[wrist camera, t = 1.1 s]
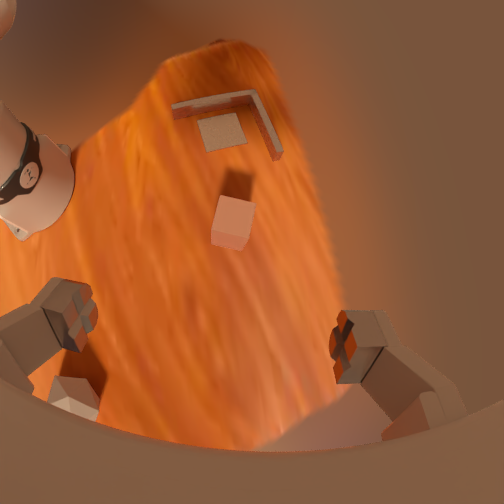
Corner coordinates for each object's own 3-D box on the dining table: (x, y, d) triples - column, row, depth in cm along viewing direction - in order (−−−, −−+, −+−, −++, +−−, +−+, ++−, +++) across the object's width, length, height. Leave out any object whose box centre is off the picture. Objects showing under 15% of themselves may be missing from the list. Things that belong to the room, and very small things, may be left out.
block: (211, 244, 39) (211, 229, 32) (218, 215, 40) (220, 194, 33) (241, 251, 40) (248, 238, 32) (247, 222, 41) (256, 203, 33)
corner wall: (279, 160, 43) (283, 151, 41) (189, 181, 41) (188, 172, 38) (252, 99, 45) (255, 89, 42) (172, 115, 42) (171, 104, 39)
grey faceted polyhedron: (92, 362, 34) (38, 364, 26) (119, 406, 30) (60, 417, 21) (83, 391, 35) (35, 396, 27) (107, 432, 31) (56, 443, 23)
